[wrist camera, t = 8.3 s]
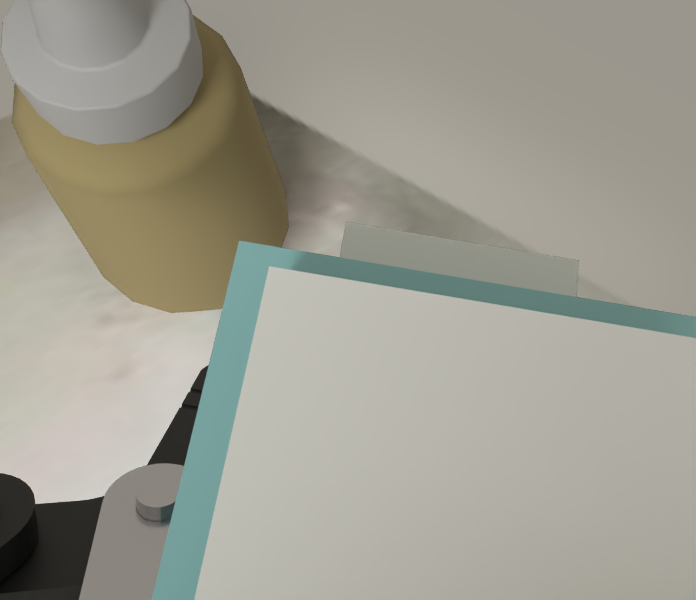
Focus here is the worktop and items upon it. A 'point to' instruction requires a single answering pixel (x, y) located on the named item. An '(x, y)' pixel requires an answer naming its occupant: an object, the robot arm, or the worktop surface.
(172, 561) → the plug
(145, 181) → the squeeze bottle
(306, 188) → the worktop surface
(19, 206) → the worktop surface
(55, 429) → the worktop surface
